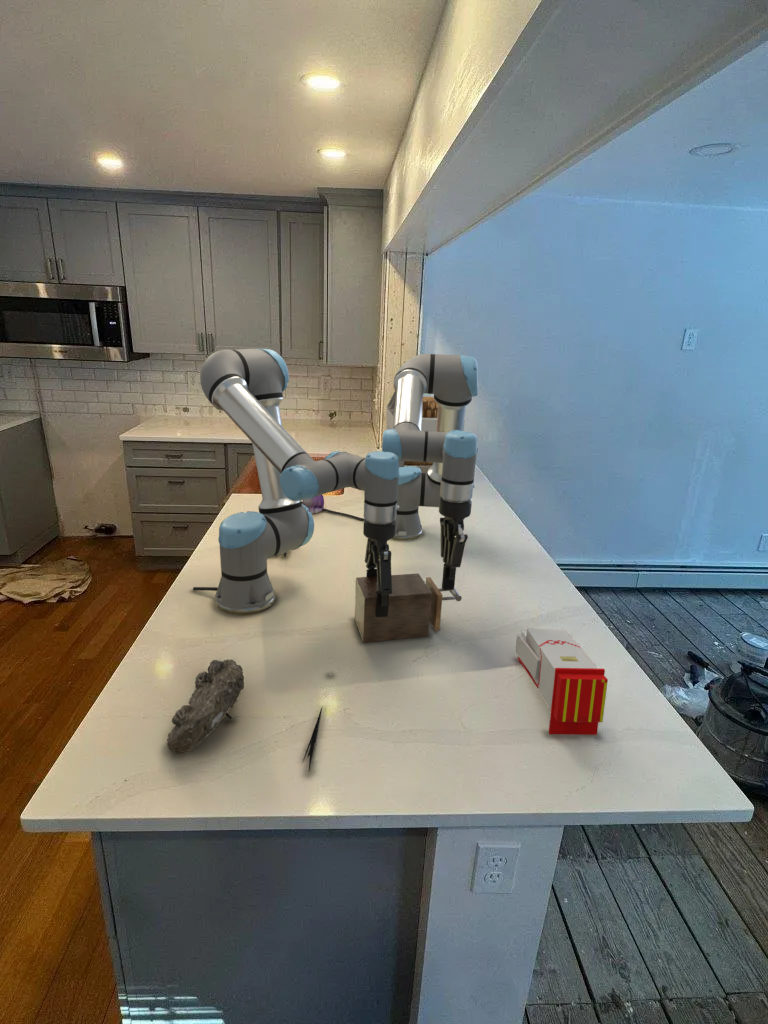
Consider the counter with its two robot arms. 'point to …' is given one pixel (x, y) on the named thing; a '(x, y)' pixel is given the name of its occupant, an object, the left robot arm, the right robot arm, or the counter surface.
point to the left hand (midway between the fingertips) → (376, 604)
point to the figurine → (314, 504)
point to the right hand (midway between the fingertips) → (447, 588)
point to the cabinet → (393, 609)
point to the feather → (313, 740)
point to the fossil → (206, 705)
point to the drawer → (438, 602)
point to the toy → (564, 680)
